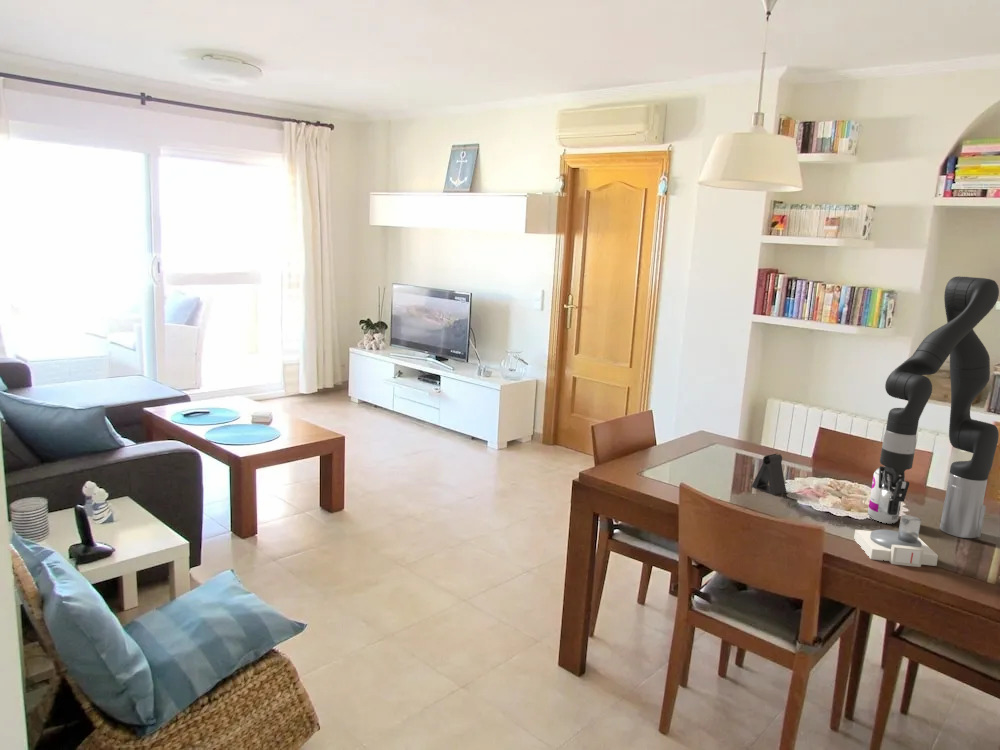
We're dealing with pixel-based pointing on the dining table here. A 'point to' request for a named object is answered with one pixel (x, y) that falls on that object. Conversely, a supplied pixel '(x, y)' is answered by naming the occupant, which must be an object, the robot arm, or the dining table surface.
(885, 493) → the cylinder
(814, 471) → the dining table surface
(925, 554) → the scale
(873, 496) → the supplement can
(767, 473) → the black triangular stand
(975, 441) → the robot arm
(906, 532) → the silver metal block
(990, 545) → the dining table surface
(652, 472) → the dining table surface
